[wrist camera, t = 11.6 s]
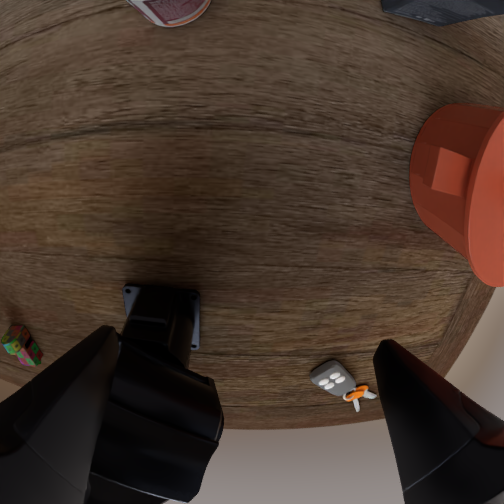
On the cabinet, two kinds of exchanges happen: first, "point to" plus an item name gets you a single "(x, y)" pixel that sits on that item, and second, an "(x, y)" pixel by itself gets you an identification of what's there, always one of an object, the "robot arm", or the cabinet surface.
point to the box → (444, 10)
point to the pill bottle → (170, 10)
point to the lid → (487, 209)
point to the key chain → (339, 382)
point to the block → (21, 346)
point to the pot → (448, 167)
